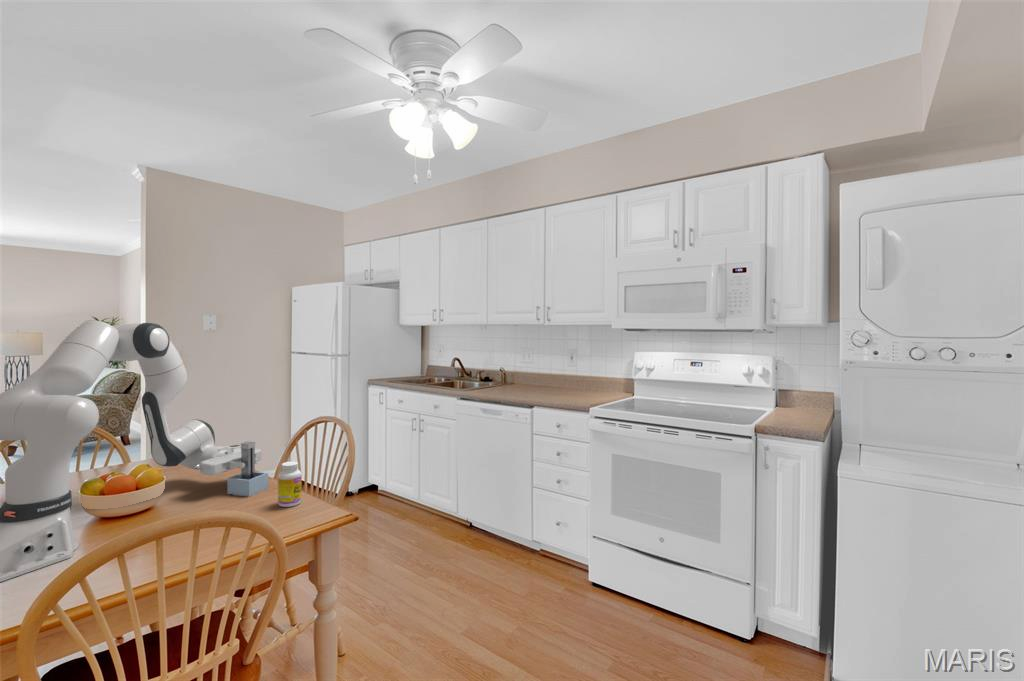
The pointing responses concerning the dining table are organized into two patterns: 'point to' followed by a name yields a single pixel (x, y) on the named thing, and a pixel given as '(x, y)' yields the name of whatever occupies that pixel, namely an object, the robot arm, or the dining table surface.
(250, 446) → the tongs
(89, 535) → the dining table surface
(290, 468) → the supplement bottle
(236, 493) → the blue-gray square tray
